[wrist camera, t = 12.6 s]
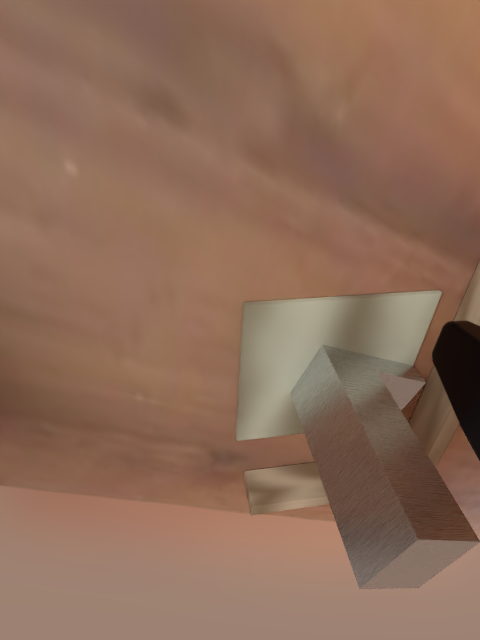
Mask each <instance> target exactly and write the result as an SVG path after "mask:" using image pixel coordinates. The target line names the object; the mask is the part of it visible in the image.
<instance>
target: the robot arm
mask: <svg viewBox="0 0 480 640" xmlns="http://www.w3.org/2000/svg"><path fill="white" fill-rule="evenodd" d="M432 359H433V363H434V366H435V368H436V371H437V373H438V375H439V378H440V380H441V382H442V385H443V387H444V389H445V392H446V394H447V396H448V399H449V401H450V403H451V406H452V408H453V410H454V413H455V415H456V417H457V419H458V421H459V424H460V426H461V428H462V430H463V431H464V433H465V435H466V437H467V439H468V441H469V443H470V444H471V446H472V448H473V450H474V451H475V453H476V455H477V457H478V459H479V460H480V326H478V325H476V324H474V323H472V322H470V321H466V320H462V321H450V322H447V323H446V324H445V325H444V326H443V328H442V330H441V333H440V335H439V337H438V340H437V342H436V344H435V347H434V349H433V352H432Z"/></svg>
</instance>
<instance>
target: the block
mask: <svg viewBox="0 0 480 640" xmlns="http://www.w3.org/2000/svg"><path fill="white" fill-rule="evenodd" d="M425 383H426V382H425V380H424V379H423V378H422V376H421V375H420V373H419V372H418V371H417V369H416V368H415V366H413V365H409V364H405V363H400V362H396V361H392V360H387V359H383V358H379V357H375V356H370V355H366V354H362V353H357V352H353V351H349V350H345V349H340V348H336V347H332V346H327V345H323V344H322V345H321V347H320V348H319V350H318V351H317V353H316V354H315V356H314V357H313V359H312V360H311V362H310V363H309V365H308V366H307V368H306V370H305V371H304V373H303V374H302V376H301V377H300V379H299V380H298V382H297V383H296V385H295V386H294V388H293V389H292V391H291V392H290V393H291V396H292V399H293V402H294V405H295V408H296V410H297V413H298V416H299V419H300V422H301V424H302V427H303V430H304V433H305V436H306V439H307V441H308V444H309V447H310V450H311V453H312V456H313V458H314V461H315V464H316V467H317V470H318V473H319V475H320V478H321V481H322V484H323V487H324V489H325V492H326V495H327V498H328V501H329V504H330V506H331V509H332V512H333V515H334V518H335V521H336V523H337V526H338V529H339V532H340V535H341V537H342V540H343V543H344V546H345V549H346V551H347V554H348V557H349V560H350V563H351V566H352V568H353V571H354V574H355V577H356V580H357V583H358V586H359V588H360V589H376V588H377V589H380V588H381V589H383V588H419V587H420V586H422V585H423V584H424V583H425V582H427V581H428V580H430V579H431V578H432V577H434V576H435V575H436V574H438V573H439V572H440V571H442V570H443V569H444V568H446V567H447V566H448V565H450V564H451V563H453V562H454V561H455V560H457V559H458V558H459V557H461V556H462V555H463V554H464V553H466V552H467V551H469V550H470V549H471V548H473V547H474V546H475V545H477V544H478V543H479V542H480V541H479V539H478V538H477V536H476V534H475V532H474V531H473V529H472V527H471V526H470V524H469V522H468V521H467V519H466V517H465V516H464V514H463V513H462V511H461V509H460V508H459V506H458V504H457V503H456V501H455V499H454V498H453V496H452V494H451V493H450V491H449V489H448V488H447V486H446V484H445V483H444V481H443V479H442V478H441V476H440V474H439V473H438V471H437V469H436V468H435V466H434V464H433V463H432V461H431V460H430V458H429V456H428V455H427V453H426V451H425V450H424V448H423V446H422V445H421V443H420V441H419V440H418V438H417V436H416V435H415V433H414V431H413V430H412V428H411V426H410V425H409V423H408V421H407V420H406V418H405V416H404V415H403V413H402V409H403V408H404V407H405V406H406V405H407V404H408V403H409V401H410V400H411V399H412V398H413V397H414V396H415V395H416V393H417V392H418V391H419V390H420V389H421V388H422V387H423V386H424V384H425Z"/></svg>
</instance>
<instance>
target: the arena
mask: <svg viewBox="0 0 480 640" xmlns="http://www.w3.org/2000/svg"><path fill="white" fill-rule="evenodd" d="M441 294H442V292H441V291H440V290H434V291H418V292H402V293H386V294H370V295H353V296H337V297H321V298H305V299H289V300H273V301H257V302H243V318H242V335H241V352H240V369H239V386H238V403H237V420H236V437H235V438H236V441H241V440H249V439H258V438H267V437H275V436H284V435H293V434H302V433H304V430H303V427H302V424H301V422H300V419H299V416H298V413H297V410H296V408H295V405H294V402H293V399H292V396H291V393H290V392H291V391H292V389H293V388H294V386H295V385H296V383H297V382H298V380H299V379H300V377H301V376H302V374H303V373H304V371H305V370H306V368H307V366H308V365H309V363H310V362H311V360H312V359H313V357H314V356H315V354H316V353H317V351H318V350H319V348H320V347H321V345H322V344H323V345H327V346H332V347H336V348H340V349H345V350H349V351H353V352H357V353H362V354H366V355H370V356H375V357H379V358H383V359H387V360H392V361H396V362H400V363H405V364H409V365H414V362H415V360H416V357H417V355H418V352H419V350H420V347H421V345H422V342H423V340H424V337H425V335H426V332H427V330H428V327H429V324H430V322H431V319H432V317H433V314H434V312H435V309H436V307H437V304H438V302H439V299H440V297H441ZM462 320H466V321H470V322H472V323H474V324H476V325H478V326H480V261H479V264H478V266H477V268H476V271H475V273H474V275H473V277H472V280H471V282H470V284H469V287H468V289H467V291H466V293H465V296H464V298H463V300H462V303H461V305H460V307H459V309H458V312H457V314H456V316H455V319H454V321H462ZM409 425H410V426H411V428H412V430H413V431H414V433H415V435H416V436H417V438H418V440H419V441H420V443H421V445H422V446H423V448H424V450H425V451H426V453H427V455H428V456H429V458H430V460H431V461H432V463H433V464H434V466H435V468H436V466H437V464H438V462H439V460H440V458H441V457H442V455H443V453H444V451H445V449H446V448H447V446H448V444H449V442H450V440H451V438H452V437H453V435H454V433H455V431H456V429H457V427H458V426H459V421H458V419H457V417H456V415H455V413H454V410H453V408H452V406H451V403H450V401H449V399H448V396H447V394H446V392H445V389H444V387H443V385H442V382H441V380H440V378H439V375H438V373H437V371H436V368H435V366H434V367H433V369H432V371H431V374H430V376H429V378H428V380H427V383H426V385H425V387H424V390H423V392H422V394H421V396H420V399H419V401H418V403H417V406H416V408H415V410H414V412H413V415H412V417H411V419H410V422H409ZM244 483H245V488H246V493H247V498H248V503H249V509H250V514H251V515H256V514H263V513H270V512H277V511H284V510H291V509H298V508H305V507H312V506H319V505H326V504H329V501H328V498H327V495H326V492H325V489H324V487H323V484H322V481H321V478H320V475H319V473H318V470H317V467H316V464H315V462H313V463H305V464H297V465H289V466H281V467H273V468H265V469H258V470H250V471H245V472H244Z"/></svg>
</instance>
